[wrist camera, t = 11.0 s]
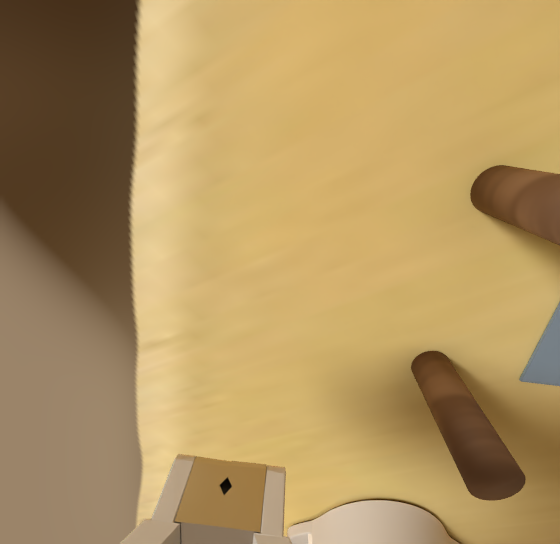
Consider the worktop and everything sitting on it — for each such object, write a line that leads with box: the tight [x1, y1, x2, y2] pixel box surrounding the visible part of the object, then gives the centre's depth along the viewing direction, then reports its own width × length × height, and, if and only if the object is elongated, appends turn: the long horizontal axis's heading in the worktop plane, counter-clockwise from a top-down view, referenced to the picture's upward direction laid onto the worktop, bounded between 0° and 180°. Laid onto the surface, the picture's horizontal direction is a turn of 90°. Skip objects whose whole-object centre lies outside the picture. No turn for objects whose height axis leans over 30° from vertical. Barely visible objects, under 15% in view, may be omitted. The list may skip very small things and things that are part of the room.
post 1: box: [411, 351, 525, 500], centre depth 20 cm, size 3×3×9 cm
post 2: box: [471, 165, 560, 245], centre depth 15 cm, size 3×3×9 cm
